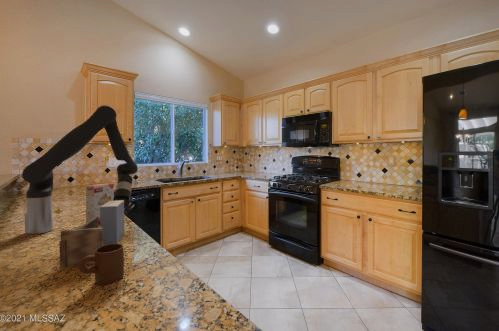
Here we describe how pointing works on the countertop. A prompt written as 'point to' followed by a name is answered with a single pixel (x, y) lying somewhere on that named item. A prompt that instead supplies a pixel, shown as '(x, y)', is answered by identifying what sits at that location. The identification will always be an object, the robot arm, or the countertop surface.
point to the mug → (105, 264)
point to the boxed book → (112, 221)
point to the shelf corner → (80, 243)
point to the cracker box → (97, 199)
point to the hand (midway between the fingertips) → (117, 221)
